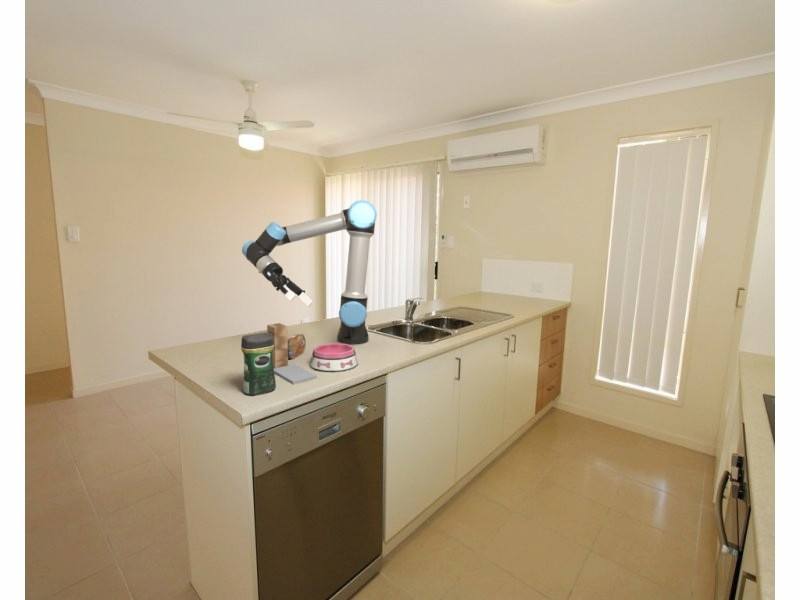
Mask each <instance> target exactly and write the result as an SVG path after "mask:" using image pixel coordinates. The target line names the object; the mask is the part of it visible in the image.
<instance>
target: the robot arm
mask: <svg viewBox="0 0 800 600" xmlns="http://www.w3.org/2000/svg"><path fill="white" fill-rule="evenodd" d="M377 216H378V215H377V209H376V207H375V206H374V205H373V204H372V203H371V202H370V201H367V200H363V199H359V200H356V201H354V202H353V203H351V205H350V206H349V208H347V209H346V208H345V209H343V210H341V211H340V212H339V213H335V214H331V215H327V216H321V217H319V218H315V219H311V220H306V221H302V222H298V223H294V224H290V225H286V226H281V225H280V224H278V223H276V222H274V221H272V222H270V223H269V224H268V225H267V226H266V227H265V229H264V231H263V232H261V233H260V235H259V236H258V237H257V239H256V240H249V241H248V242H245V243H244V244H243V246H242V248H241V253H242V255H243V256H244V257H245V258H246V260H247V261H249V262H250V263H251V265H253V266H254V267H255V268H256V269H257V270H258V273H259V274H261V275H262V276H263V277H264V278H265V279H266V280H267V281H269V282H270V283H271V284H272V286H273V288H275V290H276V291H277V292H279V291H280V292H281V293H282V294H283V295H284V296H285V297H286V298H287V299H288V300H289V301H290V302H293V300H294V299H295V297H297V296H298V298H299V299H300V300H301V301H302V302H303V303H304V304H305V305H306V306H307V307H308V308H310V306H312V304H313V303H314V302H313V300H312V299H311V298H310V297H309V296H308V295H307V294H306V290H304V289H302V288H300V287H299V285H297V284H296V283H295V282H293V281H292V280H291V279H290V278H289V277H287V276H286V275H284V274H283V272H284V269H283V267H282V266H281V265H280V264H278V262H277V261H276V260H275V259H274V258H273V257H272V256H271V255H270V254H271V253H272V252H273V250H274V249H275V248H276V247H278V246H279V247H281V246H283V245H287V244H290V243H294V242H299V241H302V240H303V241H304V240H306V239H311V238H316V237H319V236H322V235H327V234H330V233H337V232H339V231H344V230H345V231H346V232H347V233H348V235H349V244H348V256H347V266H346V267H347V268H346V278H345V279H346V280H345V288H344V291H343V292H341V294H340V305H339V311H338V317H339V319H340V327H339V329H338V333H337V335H336V340H337V343H340V344H347V345H359V344H360V345H361V344H366V343H368V342H369V339H370V338H369V333H368V329H367V326H366V319H367V316H368V312H367V309H368V297H369V296H368V295H367V294H366V292H365V291H366V282H367V272H368V263H369V253H370V243H371V237H373V236H374V235H375V228H376V227H375V225H376V221H377ZM296 295H297V296H296ZM367 341H368V342H367Z"/></svg>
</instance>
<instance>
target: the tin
mask: <svg viewBox="0 0 800 600" xmlns="http://www.w3.org/2000/svg"><path fill="white" fill-rule="evenodd" d="M287 341H288V360H289V359H290V360H294V359H296V358H298V357H299V356H301V355H303V353H304V352H305V350H306V338H305V335H304V334H303V333H301V334H300V333H299V334H298V333H297V334H294V335H292V336H291V337H289V338H288V337H287Z"/></svg>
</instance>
